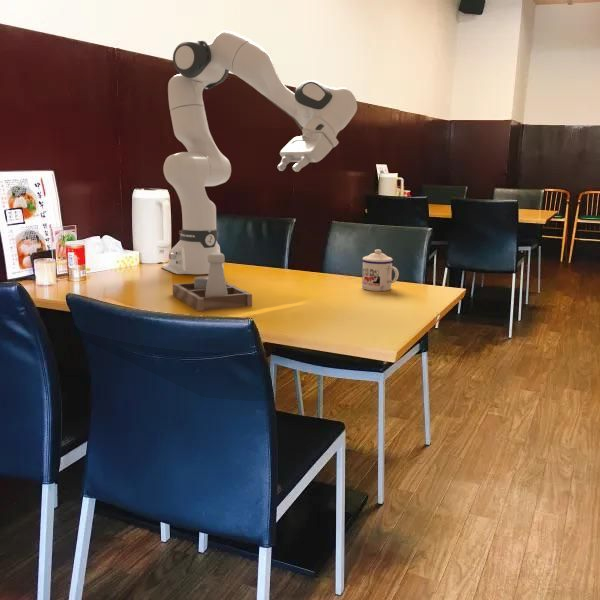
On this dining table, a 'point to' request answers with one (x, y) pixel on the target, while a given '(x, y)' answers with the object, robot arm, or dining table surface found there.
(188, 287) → the brown wooden divided tray
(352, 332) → the dining table surface
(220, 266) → the salt shaker
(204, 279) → the gray block
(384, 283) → the teacup with lid
